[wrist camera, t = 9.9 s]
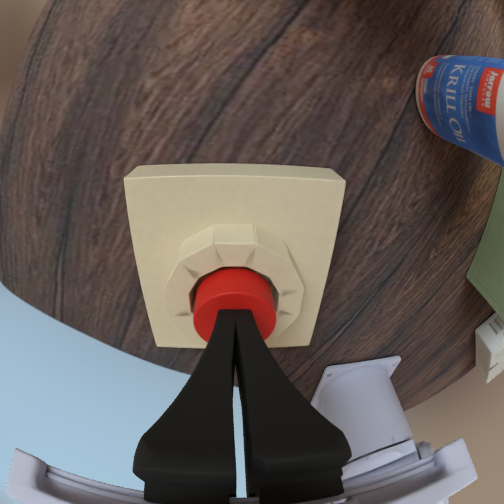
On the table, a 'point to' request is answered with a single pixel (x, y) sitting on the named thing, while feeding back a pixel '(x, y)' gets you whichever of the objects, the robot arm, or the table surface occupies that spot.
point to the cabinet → (491, 256)
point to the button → (233, 300)
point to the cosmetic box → (490, 347)
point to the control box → (233, 239)
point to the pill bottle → (464, 102)
